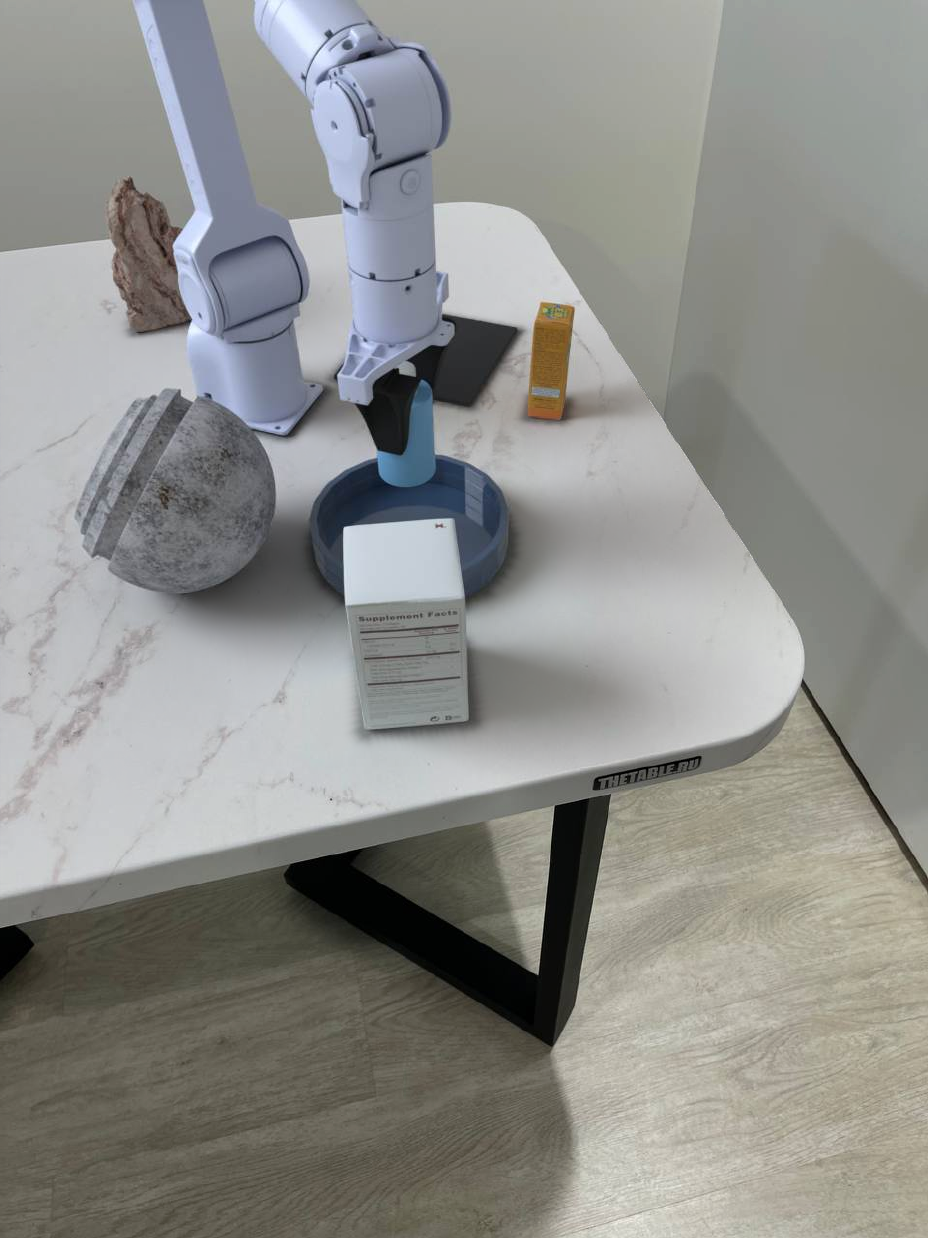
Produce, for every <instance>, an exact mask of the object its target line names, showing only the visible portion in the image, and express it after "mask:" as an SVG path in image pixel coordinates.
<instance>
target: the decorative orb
mask: <svg viewBox="0 0 928 1238" xmlns="http://www.w3.org/2000/svg"><path fill="white" fill-rule="evenodd" d="M276 502H277V488H276V479H275V473H274V471H273V467H272V464H271V460H270V457H269V455H268V453H267V451H266V449H265V446H263V443H262V442H261V440H260V439H259V437H258V436H257V434H256V433H255V432H254V431H253V429H251V428H250V427H249V426H248V425H247V424H246V423H245V422H244V421H243V420H242V419H241V418H239V417H238V416H237V415H236V414H235V413H233V412H232V411H230V410H229V409H228V408H226V407H224V406H222V405H221V404H219V403H217V402H215V401H213V400H210V399H208V398H205V397H202V396H198V395H197V397H196V398H195V399H194V400H193V401H192V400H190V399H188V398H185V397H184V396H182V389H181V388H169V387H168V388H167V387H165V388H164V389H163V390H162V391H161V392H160V393H159V395H158V396H157V395H155V394H152V395H150V396H147V397H144V398H142V397H137V398H136V399H134V400H133V402H132V403H131V404H130V406H129V407H128V409H127V410H126V411H125V413H124V414H123V416H122V417H121V419H120V420H119V421H118V423H117V424H116V426H115V427H114V429H113V430H112V431H111V432H110V435H109V436H108V438H106V441H105V443H104V444H103V446H102V447H101V449H100V451H99V453H98V454H97V457H96V459H95V461H94V463H93V466H92V468H91V470H90V472H89V474H88V477H87V479H86V482H85V484H84V487H83V490H82V492H81V495H80V498H79V500H78V503H77V506H76V508H75V512H74V517H73V518H74V520H75V521H76V522H77V523H78V526H79V531H80V534H81V535H83V536H84V537H83V541H82V548H83V549H84V550H85V552H86V553H87V555H89V557H90V558H91V559H93V558H95V557H97V556H99V557H101V558H102V559H105V560H107V561H109V563H108V565H107V570H108V571H109V573H111V574H113V575H114V576H115V577H117V578H119V579H121V580H123V581H124V582H126V583H128V584H131V585H133V586H136V587H138V588H141V589H144V590H147V591H152V592H155V593H157V592H158V593H164V594H185V593H193V592H198V591H203V590H206V589H209V588H213V587H215V586H216V585H219V584H221V583H223V582H225V581H227V580H228V579H230V578H232V577H233V576H235V575H236V574H238V573H239V572H241V570H242V569H244V567H246V566H247V565H248V564H249V563H250V562H251V561H252V560H253V558H255V556H256V555H257V553H258V552H259V550H260V549H261V548H262V546H263V545H264V542H265V541H266V539H267V537H268V534H269V532H270V530H271V526H272V524H273V520H274V516H275V511H276Z"/></svg>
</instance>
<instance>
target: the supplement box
mask: <svg viewBox="0 0 928 1238" xmlns="http://www.w3.org/2000/svg"><path fill="white" fill-rule="evenodd" d="M575 310H576V309H575V306H573V305H567V304H562V303H555V302H547V301H546V302H545V301H540V303H539V308H538V311H537V315H536V317H535V319H534V322H533V331H532V342H531V343H532V344H531V353H530V366H529V381H528V383H529V384H528V395H527V411H526V412H527V414H526V415H527V416H528V417H530V418H536V419H545V420H553V421H554V420H556V421H560V420H561V419H562V416H563V412H564V408H565V403H566V397H567V396H566V394H567V387H568V385H567V384H568V377H569V376H568V375H569V366H570V357H571V347H572V339H573V329H574V319H575V312H576V311H575Z"/></svg>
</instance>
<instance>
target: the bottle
mask: <svg viewBox="0 0 928 1238" xmlns="http://www.w3.org/2000/svg"><path fill="white" fill-rule="evenodd" d="M396 368H399V374H404V375H409V376H414V377H416V369H415V366H414V365H413V364H412V363H410V362H408V361H404V362H403V363H401V364H400V365H398V366H397V367H395V369H396ZM435 445H436V443H435V424H434V403H433V399H432V389H431V387H430V385H429V384H428V383H427V382H425V381H424V380H421V382H420V384H419V386H418V388H417V390H416V393H415V396H414V398H413V402H412V406H411V412H410V420H409V436H408V443H407V447H406V450H405V452H404V453H403V455H401V456H400V455H395V454H391V453H386V452H382V451H378V450H377V449H376V458H377V459H378V469H379V474H380V476H381V478H382V479H383V480H384V481H385V482H387V483H389V484H391V485H394V486H398V487H413V486H418V485H421V484H423V483H425V482H427V481H428V480H429V479H431V478H432V476H433V475H434V473H435V470H436V464H435V454H436V447H435Z"/></svg>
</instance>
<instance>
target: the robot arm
mask: <svg viewBox="0 0 928 1238" xmlns="http://www.w3.org/2000/svg"><path fill="white" fill-rule="evenodd" d="M131 2H132V4H133V6H134V7H133V8H134V10H135V13H136V16H137V19H138V23H139V26H140V30H141V33H142V37H143V39H144V43H145V46H146V50H147V54H148V56H149V59H150V63H151V66H152V70H153V72H154V76H155V80H156V83H157V87H158V90H159V93H160V97H161V99H162V103H163V106H164V109H165V113H166V117H167V119H168V123H169V126H170V129H171V133H172V136H173V140H174V144H175V146H176V150H177V153H178V156H179V159H180V163H181V166H182V169H183V173H184V176H185V179H186V183H187V187H188V190H189V193H190V196H191V199H192V202H193V207H194V211H193V213H192V216H191V217H190V218H189V220H188V221H187V223H186V225H185V226H184V227H183V228H182V229H183V230H182V232H181V233H180V234H179V236H178V237H177V239H176V240H175V242H174V244H173V250H174V258H175V261H176V265H177V270H178V284H179V289H180V293H181V296H182V299H183V302H184V304H185V306H186V309H187V311H188V313H189V314H190V316H191V318H192V319H193V320H192V321H191V322H190V324H189V326H188V330H187V335H186V354H187V359H188V363H189V367H190V371H191V375H192V380H193V383H194V386H195V387H194V388H195V391H196V395H197V397H198V396H202V397H205V398H208V399H210V400H213V401H215V402H217V403H219V404H221V405H222V406H224V407H226V408H228V409H229V410H230V411H232V412H233V413H235V414H236V415H237V416H238V417H239V418H241V419H242V420H243V421H244V422H245V423H246V424H247V425H248V426H249V427H250V429H251V430H256V431H260V432H265V433H270V434H274V435H279V436H286V435H288V434H289V433H290V432H292V430H293V428H294V427H295V426H296V425H297V423H298V422H299V421H300V420H301V419H302V417H303V416H304V415H305V413H306V412H308V410H309V409H310V407H312V405H313V403H315V401H316V400H317V399H318V397H319V396H320V395H321V394H322V393H323V392H324V387H323V385H322V384H320V383H315V382H310V381H305V380H304V376H303V369H302V364H301V357H300V350H299V345H298V338H297V332H296V331H297V330H296V325H295V319H296V318H298V317H300V316H301V310H300V304H301V303H303V302H305V301H306V299H307V297H308V295H309V289H310V283H311V282H310V279H311V278H310V273H309V267H308V264H307V261H306V259H305V256H304V254H303V252H302V250H301V248H300V247H299V245H298V243H297V241H296V237H295V235H294V232H293V228H292V226H291V225H292V224H291V223H290V220H289V219H288V218H287V217H286V216H284V215H283V214H282V213H281V212H279V211H278V210H276V209H274V208H271V207H269V206H267V205H265V204H262V203H261V202H258V201H257V198H256V194H255V191H254V186H253V184H252V179H251V175H250V172H249V168H248V165H247V161H246V157H245V153H244V149H243V146H242V145H243V144H242V142H241V137H240V135H239V131H238V126H237V123H236V118H235V115H234V112H233V107H232V104H231V99H230V96H229V92H228V89H227V85H226V81H225V77H224V74H223V69H222V65H221V61H220V59H219V55H218V51H217V48H216V43H215V40H214V35H213V32H212V28H211V24H210V21H209V17H208V13H207V10H206V6H205V1H204V0H131ZM253 2H254V3H255V4H254V10H253V22H254V27H255V28H254V29H255V31H256V33H257V36H258V37H259V39H260V40H261V41H262V43H263V44H264V45H265V46H266V48H267V49H268V51H269V52H270V53H271V54H272V56H273V57H274V58H275V59H276V61H277V62H278V63H279V65H280V66H281V67H282V69H283V70H284V71H285V73H286V74H287V75H288V76H289V78H290V79H291V80H292V81H293V83H294V84H295V85H296V86H297V88H298V90H299V91H301V93H302V94H303V96H304V97H305V98H306V99H307V101H308V103H310V104H311V106H312V107H313V108H311V109H310V113H311V120H312V123H313V128H314V132H315V136H316V138H317V141H318V144H319V146H320V148H321V150H322V152H323V154H324V157H325V160H326V165H327V170H328V177H329V184H330V185H331V186H332V191H333V194H334V195H335V196H337V197H338V198H339V199H340V200H341V201H340V202H341V213H342V222H343V231H344V240H345V241H344V242H345V251H346V259H347V271H348V279H349V288H350V297H351V298H350V299H351V306H352V318H351V321H350V327H349V335H348V340H347V346H346V351H345V359H344V362H342V364H341V365H340V366H339V367H338V369H337V370H336V373H337V379H338V380H337V379H336V380H337V386H338V392H339V400H340V401H343V402H344V401H345V402H349V403H352V404H354V406H356V408H357V409H358V412H359V413H360V415H361V416H362V418H363V421H364V423H365V425H366V426H367V429H368V431H369V434H370V436H371V439H372V441H373V443H374V445H375V448H376V451H377V450H378V451H382V452H386V453H391V454H395V455H400V456H401V455H403V453H404V452H405V450H406V447H407V443H408V436H409V420H410V412H411V406H412V402H413V398H414V396H415V393H416V390H417V388H418V386H419V384H420V382H421V380H424V381H425V382H427V383H428V384H429V385H430V387H431V389H432V399H433V404H435V403H434V402H435V399H434V398H435V393H436V388H437V383H438V378H439V374H440V370H441V366H442V363H443V360H444V357H445V354H446V351H447V349H448V347H449V344H450V342H451V340H452V338H453V336H454V335H455V333H456V331H457V327H456V322H455V321H454V320H453V319H451V318H447V317H442V314H443V304H444V303H446V301H447V300H448V299H449V297H450V287H449V273H448V272H445V271H439V270H437V254H436V253H437V252H436V230H435V229H436V227H435V204H434V203H435V202H434V177H433V154H431V152H432V151H434V150H437V149H439V148H441V147H442V146H443V145H444V144H445V142H447V139H448V137H449V134H450V130H451V124H452V105H451V98H450V93H449V89H448V85H447V83H446V80H445V78H444V75H443V72H442V71H441V69H440V67H439V65H438V64H437V63H436V61H435V60H434V58H433V57H432V54H431V52H430V51H429V50H428V49H427V47H425V46H423V44H420V43H418V42H415V41H410V42H409V41H408V42H403V41H402V40H401V39H400V38H399V36H398V35H395V36H394V35H391V36H387V35H385V34H384V33H383V32H382V30H380V28H379V27H378V26H377V25H376V23H375V22H374V20H372V18H371V17H370V16H369V15H368V14H367V12H366V11H365V9H363V7H361V5H360V4H359V2H358V1H357V0H253ZM404 361H408V362H410V363H412V364H413V365H414V366H415V369H416V377H414V376H409V375H404V374H399V368H396V369H395V367H397V366H398V365H400V364H401V363H403V362H404Z"/></svg>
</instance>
